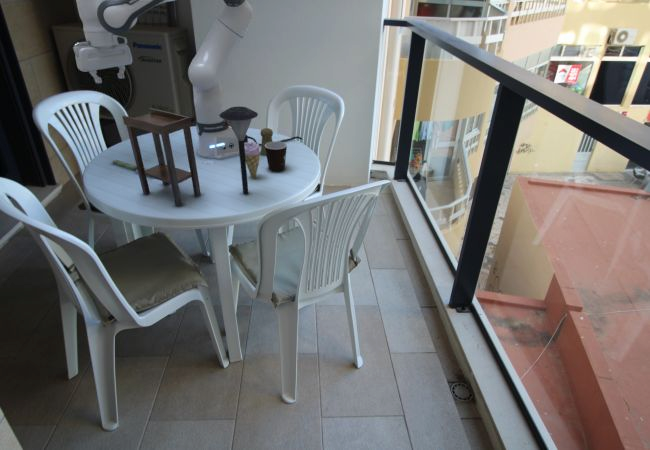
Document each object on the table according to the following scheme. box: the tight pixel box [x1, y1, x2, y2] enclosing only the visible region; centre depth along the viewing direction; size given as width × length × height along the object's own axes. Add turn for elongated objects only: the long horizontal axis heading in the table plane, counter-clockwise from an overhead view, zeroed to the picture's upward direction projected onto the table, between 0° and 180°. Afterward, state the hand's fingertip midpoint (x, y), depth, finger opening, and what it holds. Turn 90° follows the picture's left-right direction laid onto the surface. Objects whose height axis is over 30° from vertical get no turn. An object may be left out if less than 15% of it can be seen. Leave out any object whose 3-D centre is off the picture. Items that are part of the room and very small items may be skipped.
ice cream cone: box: [245, 140, 261, 179], centre depth 147 cm, size 7×6×15 cm
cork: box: [260, 127, 274, 157], centre depth 169 cm, size 6×6×11 cm
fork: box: [111, 159, 153, 179], centre depth 154 cm, size 24×4×1 cm, turn 61°
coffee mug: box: [265, 140, 288, 173], centre depth 157 cm, size 12×9×10 cm
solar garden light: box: [219, 106, 259, 196], centre depth 132 cm, size 12×12×30 cm
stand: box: [121, 107, 202, 208], centre depth 130 cm, size 18×11×28 cm, turn 61°
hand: (110, 80), depth 147 cm, fingers open, 8 cm apart
